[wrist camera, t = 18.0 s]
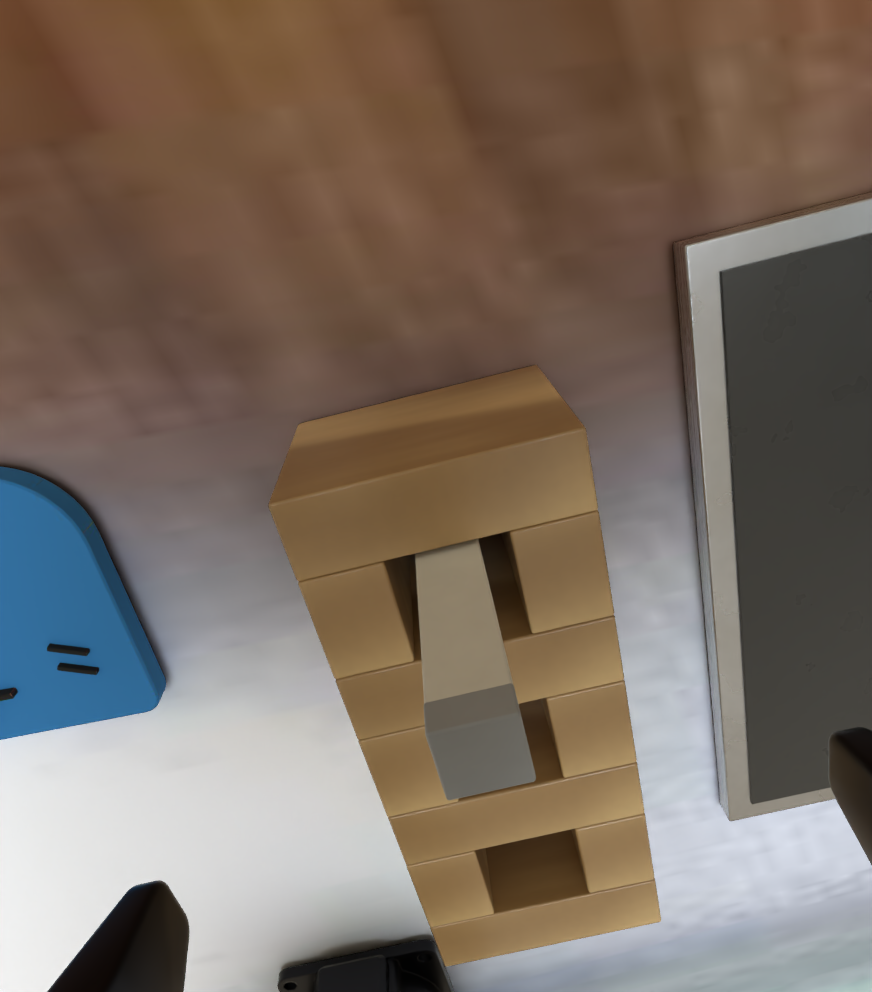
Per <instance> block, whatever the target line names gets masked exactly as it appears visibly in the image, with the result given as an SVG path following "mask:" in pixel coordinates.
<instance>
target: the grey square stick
mask: <svg viewBox="0 0 872 992" xmlns="http://www.w3.org/2000/svg"><path fill="white" fill-rule="evenodd" d="M415 564H416V580H417V595H418V611H419V627H420V643H421V659H422V675H423V691H424V722H425V736H426V739H427V742H428V745H429V748H430V751H431V754H432V757H433V760H434V763H435V766H436V769H437V772H438V775H439V778H440V781H441V784H442V787H443V790H444V793H445V796H446V798H447V800H454V799H458V798H463V797H467V796H472V795H476V794H481V793H485V792H490V791H494V790H499V789H503V788H508V787H512V786H517V785H521V784H526V783H530V782H534V781H535V780H536V774H535V770H534V766H533V762H532V758H531V754H530V749H529V745H528V741H527V737H526V733H525V729H524V725H523V721H522V717H521V713H520V708H519V704H518V700H517V696H516V692H515V688H514V685H513V681H512V677H511V673H510V669H509V665H508V660H507V656H506V652H505V648H504V644H503V640H502V635H501V631H500V627H499V623H498V619H497V615H496V610H495V606H494V602H493V598H492V594H491V590H490V585H489V581H488V577H487V573H486V569H485V565H484V560H483V556H482V552H481V548H480V544H479V540H478V539H474V540H470V541H466V542H462V543H457V544H453V545H449V546H445V547H441V548H436V549H432V550H428V551H424V552H420V553H416V554H415Z"/></svg>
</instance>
